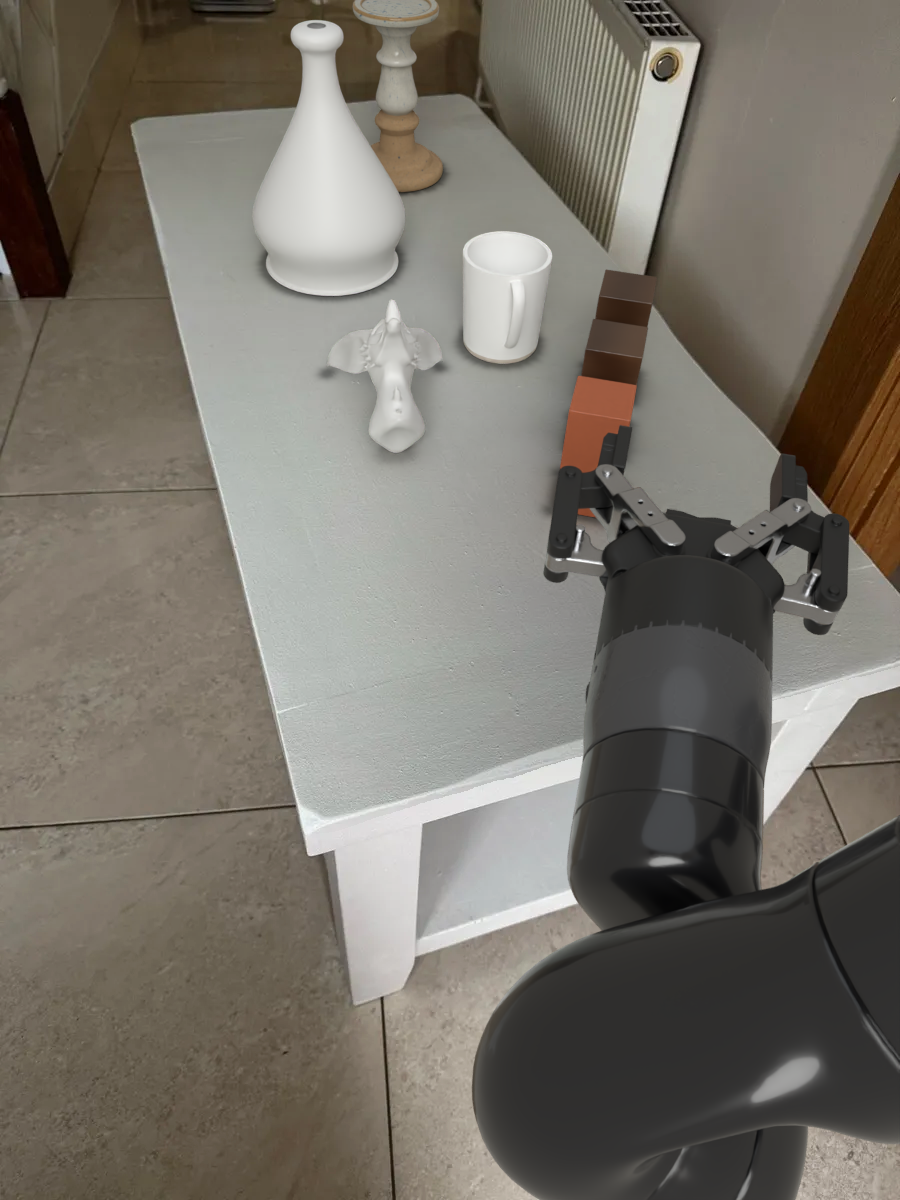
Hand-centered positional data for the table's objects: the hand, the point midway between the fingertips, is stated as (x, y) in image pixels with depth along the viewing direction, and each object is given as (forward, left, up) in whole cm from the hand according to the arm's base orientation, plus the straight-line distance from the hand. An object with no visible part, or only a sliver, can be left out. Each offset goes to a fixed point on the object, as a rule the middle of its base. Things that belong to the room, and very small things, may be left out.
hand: (701, 452), depth 50 cm
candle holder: (+40, -81, -25) cm, 94 cm away
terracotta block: (+6, -23, -25) cm, 35 cm away
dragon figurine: (+26, -29, -25) cm, 46 cm away
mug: (+18, -44, -25) cm, 54 cm away
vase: (+41, -56, -25) cm, 74 cm away
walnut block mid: (+6, -32, -25) cm, 41 cm away
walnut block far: (+6, -41, -25) cm, 48 cm away
